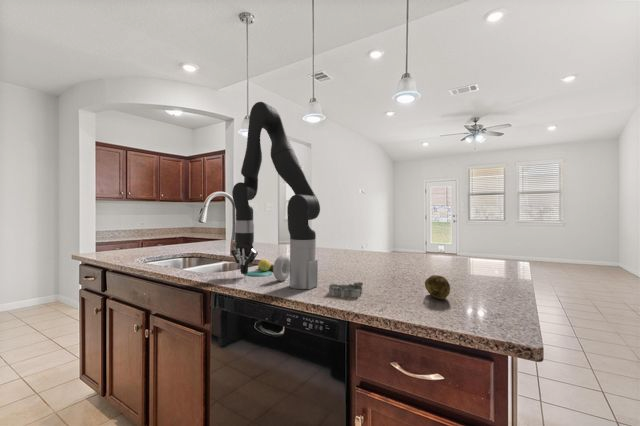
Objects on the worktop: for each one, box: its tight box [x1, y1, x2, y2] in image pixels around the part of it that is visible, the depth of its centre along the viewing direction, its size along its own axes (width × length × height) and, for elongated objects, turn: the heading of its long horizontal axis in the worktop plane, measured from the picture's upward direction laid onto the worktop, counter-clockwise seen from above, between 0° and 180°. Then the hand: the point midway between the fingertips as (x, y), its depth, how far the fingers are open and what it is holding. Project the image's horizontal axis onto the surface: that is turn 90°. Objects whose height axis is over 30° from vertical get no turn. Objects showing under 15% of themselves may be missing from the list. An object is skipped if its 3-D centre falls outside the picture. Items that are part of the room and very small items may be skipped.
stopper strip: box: [257, 264, 274, 272], centre depth 142 cm, size 14×2×2 cm, turn 61°
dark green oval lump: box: [424, 274, 451, 300], centre depth 97 cm, size 8×13×8 cm, turn 149°
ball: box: [257, 258, 272, 271], centre depth 139 cm, size 6×6×6 cm
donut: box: [272, 254, 290, 282], centre depth 121 cm, size 10×4×10 cm, turn 155°
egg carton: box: [328, 281, 364, 298], centre depth 101 cm, size 11×8×4 cm
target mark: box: [244, 270, 273, 277], centre depth 134 cm, size 12×12×1 cm
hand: (244, 273), depth 126 cm, fingers closed
